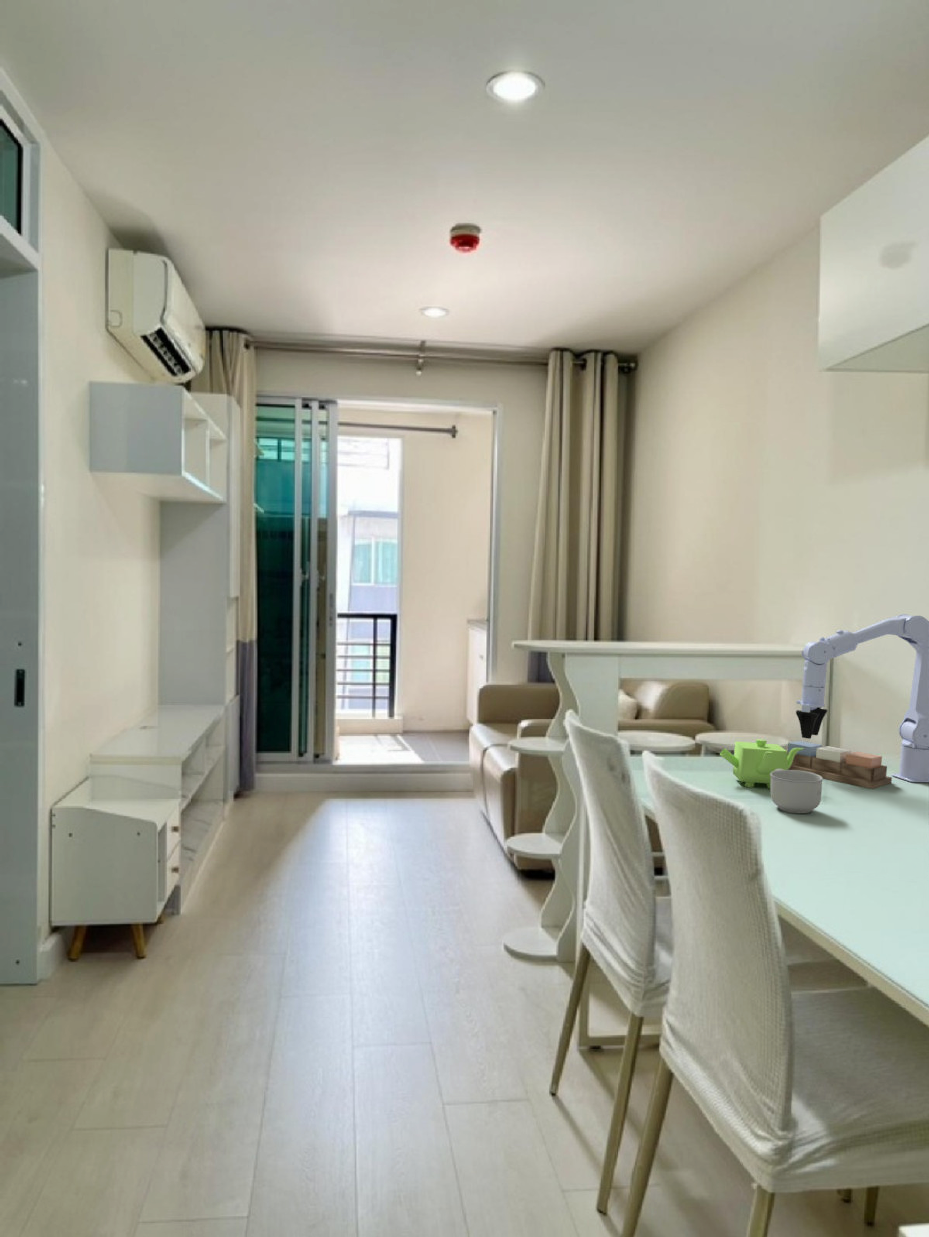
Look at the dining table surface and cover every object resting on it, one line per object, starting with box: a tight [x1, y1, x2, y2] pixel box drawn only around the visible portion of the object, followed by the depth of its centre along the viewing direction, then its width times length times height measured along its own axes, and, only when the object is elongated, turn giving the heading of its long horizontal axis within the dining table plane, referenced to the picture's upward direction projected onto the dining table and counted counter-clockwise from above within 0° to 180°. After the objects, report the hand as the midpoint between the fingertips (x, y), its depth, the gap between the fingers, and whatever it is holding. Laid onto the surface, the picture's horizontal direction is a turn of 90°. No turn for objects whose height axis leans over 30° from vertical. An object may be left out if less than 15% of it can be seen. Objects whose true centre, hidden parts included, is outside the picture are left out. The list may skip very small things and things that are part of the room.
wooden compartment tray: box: [786, 750, 893, 789], centre depth 233 cm, size 26×12×4 cm, turn 43°
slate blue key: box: [787, 740, 823, 757], centre depth 239 cm, size 6×6×3 cm
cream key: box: [816, 745, 852, 763], centre depth 233 cm, size 6×6×3 cm
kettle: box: [719, 738, 804, 790], centre depth 217 cm, size 15×14×11 cm
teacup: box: [770, 769, 824, 814], centre depth 195 cm, size 14×11×8 cm
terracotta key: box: [846, 751, 883, 769], centre depth 227 cm, size 6×6×3 cm
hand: (809, 736), depth 236 cm, fingers open, 7 cm apart
